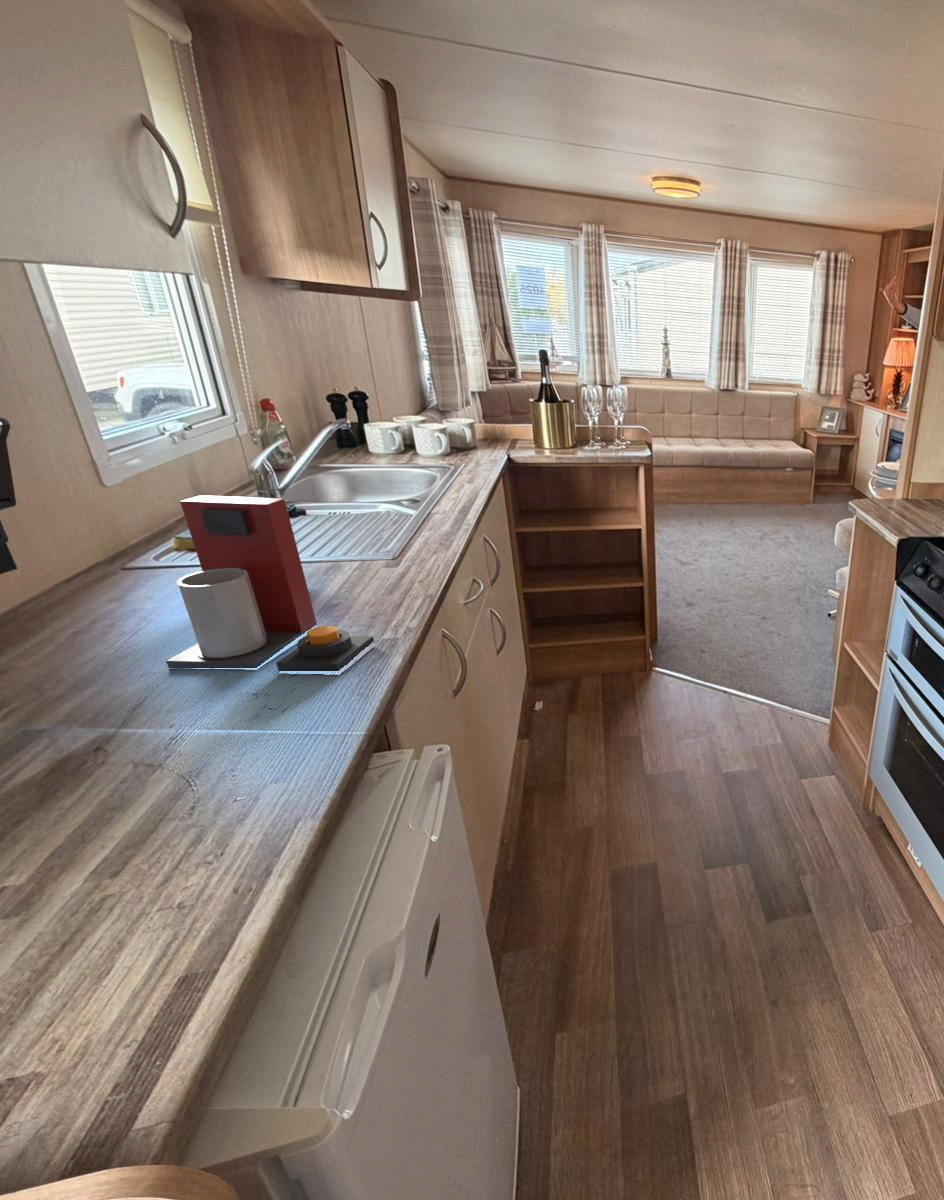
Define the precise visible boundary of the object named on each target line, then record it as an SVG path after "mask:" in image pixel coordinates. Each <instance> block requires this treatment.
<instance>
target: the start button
mask: <svg viewBox="0 0 944 1200" xmlns="http://www.w3.org/2000/svg"><path fill="white" fill-rule="evenodd" d="M338 630H339V629H338V627H337V626H335V625H321V626H318V627H317V628H314V629H311V630H310V631H308V632H307V636H308V640H309V643H310V645H323V644H329V643H332V642H335V641H337V640H339V639H340V637H339V633H338Z"/></svg>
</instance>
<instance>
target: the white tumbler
mask: <svg viewBox="0 0 944 1200" xmlns="http://www.w3.org/2000/svg"><path fill="white" fill-rule="evenodd" d="M176 584H177V587H178V590H179V593H180V596H181V599H182V602H183V605H184V608H185V612H186V613H187V617H188V619H189V622H190V625H191V628H192V631H193V634H194V637H195V640H196V644H198V646H199V649H200V651H201V654H202V655H204V656H206V657H212V658H221V657H230V656H236V655H241V654H244V653H248V652H251V651H253V650H256V649H258V648H260V647H262V646H263V645H264V644H265V643H266V642H267V638H266V637H267V636H266V633H265V629H264V626H263V622H262V619H261V616H260V612H259V609H258V605H257V602H256V599H255V595H254V592H253V589H252V585H251V582H250V578H249V575H248V572H247V571H246V570H243V569H239V568H222V569H212V570H206V571H202V570H201V571H196V572H193V573H190V574H187V575H184V576H183V577H180V578H179V579H178V580H177V581H176Z"/></svg>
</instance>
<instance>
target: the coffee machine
mask: <svg viewBox="0 0 944 1200" xmlns="http://www.w3.org/2000/svg"><path fill="white" fill-rule="evenodd" d="M179 503H180V505H181V509H182V513H183V515H184V518H185V521H186V524H187V528H188V531H189V533H190V537H191V540H192V543H193V546H194V549H195V552H196V555H197V558H198V559H197V560H198V561H199V564H200V565H199V566H200V567H201V571H206V570H212V569H222V568H239V569H243V570H246V571H247V572H248V575H249V578H250V582H251V585H252V589H253V592H254V595H255V599H256V602H257V605H258V609H259V612H260V616H261V619H262V622H263V626H264V629H265V633H266V636H267V637H266V638H267V642H266V643H265V644H264V645H263V646H262V647H260V648H258V649H256V650H253V651H251V652H248V653H244V654H241V655H236V656H230V657H221V658H212V657H206V656H204V655H202V654H201V651H200V649H199V646H198V643H196V644H194V645H192V646H191V647H188V648H187V649H185V650H183V651H181V652H180V653H177V654H176V655H174V656H172V657H170V658H168V659H167V660H166V661H165V662H166V665H167V668H168V669H169V668H257V667H258V666H260V665H261V664H262V663H264V662H265V661H266V660H268V659H269V658H270V657H272V656H273V655H274V654H276V653H277V652H279V651H280V650H281V649H283V648H284V647H285V646H287V645H288V644H290V643H291V642H292V641H294V640H295V639H296V638H298V637H299V636H301V635H302V634H304V633H305V632H306V631H308V630H310V629H311V628H312V627H314V626H315V625H317V626H318V624H317V619H316V615H315V611H314V608H313V604H312V600H311V597H310V593H309V588H308V584H307V580H306V577H305V572H304V569H303V565H302V561H301V557H300V554H299V550H298V546H297V542H296V538H295V534H294V530H293V527H292V522H291V519H290V515H289V510H288V507H287V503H286V500H285V498H277V497H254V496H253V497H251V496H231V495H230V496H228V495H205V494H204V495H203V494H202V495H201V494H200V495H197V496H193V497H190V498H186V499H182V500H179Z"/></svg>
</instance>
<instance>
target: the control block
mask: <svg viewBox="0 0 944 1200" xmlns="http://www.w3.org/2000/svg"><path fill="white" fill-rule="evenodd" d="M338 633H339V637H340V639H339V640H337V641H335V642H332V643H329V644H323V645H310V643H309V640H308V636H305V637H303V638H302V639H300V640H299V641H298V644H296V645H297V646H296V647H297V648H295V649H294V650H293V651H291V652H290V653H288V654H287V655H285V656H283V657H282V658H280V659H279V660H278V661H277V662H275V663H276V666H277V670H278V672H279V671H339V670H340V669H341V668H343V667H344V666H345V665H347V664H348V663H349V662H350V661H351V660H353V659H354V657H356V656H357V655H358V654H359V653H360V652H361V651H362V650H364V649H365V648H366V647H368V646H369V645H370V644H371V643H372V642H373V641H374V642H375V638H374V636H373V635H351V632H350V631H347V630H344V629H338Z"/></svg>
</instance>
